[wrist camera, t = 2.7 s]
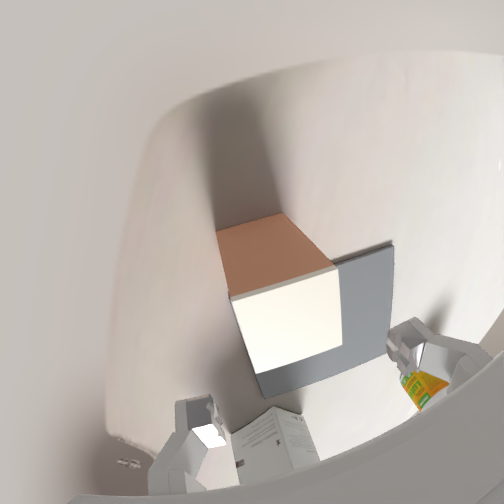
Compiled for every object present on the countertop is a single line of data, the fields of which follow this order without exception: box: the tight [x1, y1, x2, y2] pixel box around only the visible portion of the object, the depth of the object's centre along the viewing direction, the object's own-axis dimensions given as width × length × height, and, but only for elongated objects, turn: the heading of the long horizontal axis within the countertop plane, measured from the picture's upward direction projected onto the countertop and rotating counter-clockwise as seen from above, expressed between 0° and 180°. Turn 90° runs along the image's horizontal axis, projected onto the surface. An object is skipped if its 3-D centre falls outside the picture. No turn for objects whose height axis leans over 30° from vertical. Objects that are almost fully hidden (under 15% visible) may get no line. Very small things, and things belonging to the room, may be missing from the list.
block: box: [216, 213, 342, 374], centre depth 18 cm, size 5×5×9 cm
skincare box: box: [231, 406, 320, 485], centre depth 25 cm, size 8×6×15 cm
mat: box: [229, 245, 394, 399], centre depth 26 cm, size 15×14×1 cm
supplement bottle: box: [400, 369, 449, 412], centre depth 30 cm, size 5×5×10 cm
